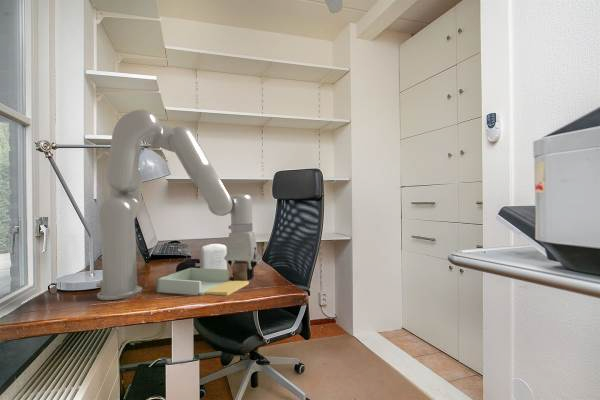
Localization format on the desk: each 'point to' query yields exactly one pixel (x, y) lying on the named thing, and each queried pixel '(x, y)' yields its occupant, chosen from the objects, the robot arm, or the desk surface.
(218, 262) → the photo printer
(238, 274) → the walnut block
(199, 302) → the desk surface
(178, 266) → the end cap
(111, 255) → the robot arm
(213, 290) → the tailgate
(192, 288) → the pale green tray
